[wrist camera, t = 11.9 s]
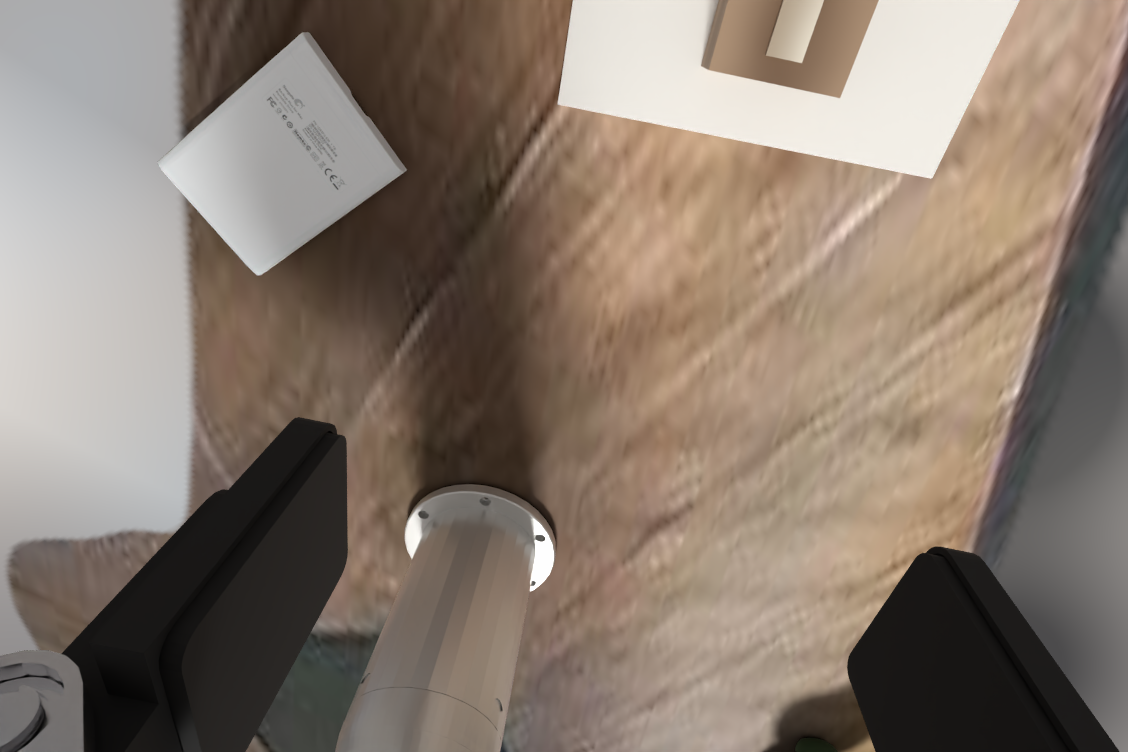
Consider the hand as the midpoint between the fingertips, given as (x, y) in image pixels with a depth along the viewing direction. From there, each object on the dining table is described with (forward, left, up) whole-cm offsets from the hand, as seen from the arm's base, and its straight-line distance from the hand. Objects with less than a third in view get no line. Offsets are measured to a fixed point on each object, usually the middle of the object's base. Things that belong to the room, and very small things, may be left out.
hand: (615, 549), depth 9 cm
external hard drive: (-3, +20, -28) cm, 34 cm away
